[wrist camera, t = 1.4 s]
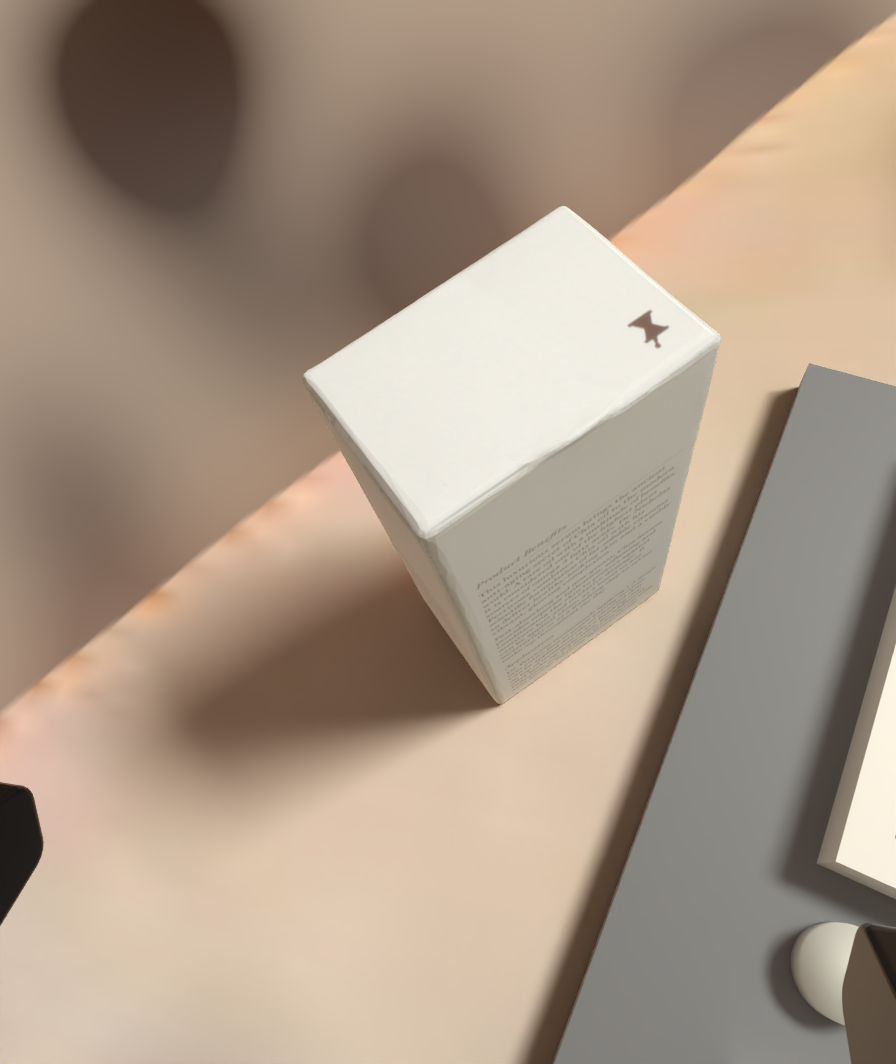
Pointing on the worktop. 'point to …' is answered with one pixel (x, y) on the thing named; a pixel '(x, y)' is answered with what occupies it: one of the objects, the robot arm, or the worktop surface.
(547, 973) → the worktop surface
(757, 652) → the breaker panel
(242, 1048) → the worktop surface
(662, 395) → the skincare box
